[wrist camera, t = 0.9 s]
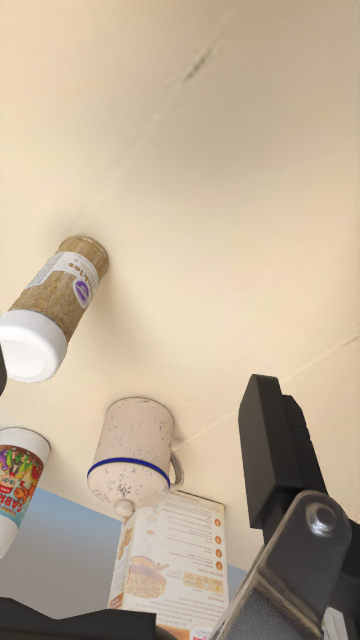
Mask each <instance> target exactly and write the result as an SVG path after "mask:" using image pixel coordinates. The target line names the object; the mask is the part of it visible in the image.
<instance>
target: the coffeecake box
mask: <svg viewBox="0 0 360 640" xmlns="http://www.w3.org/2000/svg"><path fill="white" fill-rule="evenodd" d="M228 605H229V596H228V578H227V557H226V536H225V516H224V505H223V504H219V503H216V502H213V501H209V500H206V499H203V498H199V497H196V496H193V495H189V494H186V493H182V492H179V491H175V492H168V494H167V495H166V497H165V498H164V499H163V500H162V501H161V502H159V503H157V504H155V505H153V506H149V507H144V508H137V509H134V511H133V513H132V514H131V515H130V516H127V517H123V523H122V528H121V534H120V540H119V545H118V551H117V557H116V562H115V568H114V575H113V580H112V585H111V591H110V597H109V602H108V608H107V609H109V608H111V609H121V610H130V611H140V612H150V613H157V616H156V625H157V626H159V627H161V628H163V629H165V630H166V631H168V632H169V633H171V634H172V635H173V636H175V637H176V638H177V639H178V640H208V639H209V637H210V635H211V633H212V632H213V630H214V628H215V627H216V625H217V623H218V622H219V620H220V618H221V617H222V615H223V614H224V612H225V610H226V609H227V607H228Z"/></svg>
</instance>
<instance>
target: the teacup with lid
mask: <svg viewBox="0 0 360 640" xmlns="http://www.w3.org/2000/svg"><path fill="white" fill-rule="evenodd" d="M172 432H173V419H172V416H171V414H170V413H169V411H168V410H167V409H166V408H165V407H163V406H162V405H160V404H159V403H157V402H154V401H152V400H148V399H143V398H128V399H124V400H121V401H118V402H116V403H115V404H113V405H112V406H111V407H110V408H109V410H108V412H107V414H106V418H105V422H104V425H103V429H102V432H101V436H100V439H99V443H98V447H97V450H96V454H95V457H94V461H93V464H92V467H91V468H90V469H89V471H88V474H87V482H88V486H89V489H90V490H91V492H92V493H93V494H94V495H95V496H96V497H98V498H99V499H101V500H102V501H104V502H106V503H109V504H111V505H113V506H115V507H114V511H115V513H116V514H117V515H119V516H123V517H127V516H130V515H131V514H132V513H133V511H134V509H137V508H144V507H149V506H153V505H155V504H157V503H159V502H161V501H162V500H163V499H164V498H165V497H166V495H167V494H168V492H175V491H177V490H179V489H180V488H181V487H182V485H183V483H184V470H183V466H182V463H181V461H180V459H179V457H178V456H177V455H176V454H175V453H174V452H173V451H172V450H171V444H172ZM170 461H171V463H172V465H173V467H174V470H175V475H176V481H175V484H172V483H170V480H169V468H170Z"/></svg>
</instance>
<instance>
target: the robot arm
mask: <svg viewBox="0 0 360 640" xmlns="http://www.w3.org/2000/svg"><path fill="white" fill-rule="evenodd" d="M6 382H7V371H6V366H5V362H4V357H3V353H2V348H1V344H0V396H1V394H2V393H3V391H4V389H5V386H6ZM238 423H239V433H240V441H241V450H242V459H243V468H244V477H245V486H246V495H247V504H248V513H249V521H250V528H254V529H262V530H263V537H264V544H263V546H262V548H261V549H260V551H259V553H258V555H257V556H256V558H255V560H254V562H253V563H252V565H251V567H250V569H249V570H248V572H247V574H246V576H245V577H244V579H243V581H242V583H241V584H240V586H239V588H238V590H237V591H236V593H235V595H234V597H233V598H232V600H231V602H230V604H229V605H228V607H227V609H226V610H225V612H224V614H223V615H222V617H221V618H220V620H219V622H218V623H217V625H216V627H215V628H214V630H213V632H212V633H211V635H210V637H209V639H208V640H323V639H324V631H323V630H322V627H321V626H322V620H323V617H324V614H325V611H326V609H327V606H329V607H331V608H333V609H335V610H337V611H339V612H341V613H342V614H343V618H344V623H345V627H346V632H347V637H348V640H360V525H359V524H357V523H356V522H354V521H352V520H351V519H349V518H348V517H347V515H346V513H345V512H344V510H343V509H342V508H341V506H340V505H339V504H338V503H337V502H336V501H335V500H333V499H332V498H331V497H330V496H329V494H328V492H327V489H326V487H325V483H324V480H323V477H322V474H321V470H320V467H319V464H318V461H317V457H316V454H315V451H314V448H313V444H312V441H310V435H309V431H308V428H306V422H305V418H304V415H303V412H302V409H301V408H300V407H299V405H298V404H297V403H296V401H295V400H294V399H293V397H292V396H290V395H282V393H281V389H280V385H279V381H278V379H277V378H276V377H272V376H265V375H257V374H252V375H251V377H250V380H249V383H248V385H247V388H246V391H245V393H244V396H243V399H242V402H241V404H240V408H239V416H238ZM156 616H157V613H150V612H140V611H130V610H121V609H111V608H109V609H105V610H100V611H96V612H92V613H87V614H83V615H78V616H74V617H69V618H65V619H60V620H57V619H52V618H50V617H48V616H46V615H44V614H42V613H40V612H38V611H36V610H34V609H32V608H30V607H28V606H26V605H23V604H21V603H20V602H17V601H15V600H13V599H11V598H4V597H0V640H178V639H177V638H176V637H175V636H173V635H172V634H171V633H169V632H168V631H166V630H165V629H163V628H161V627H159V626H157V625H156Z"/></svg>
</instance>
